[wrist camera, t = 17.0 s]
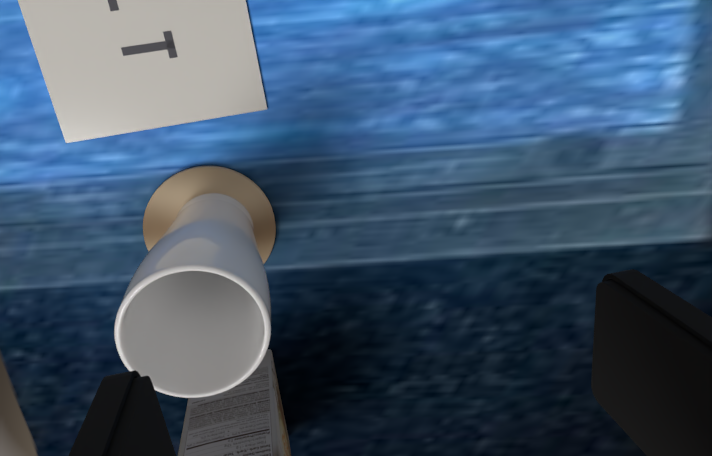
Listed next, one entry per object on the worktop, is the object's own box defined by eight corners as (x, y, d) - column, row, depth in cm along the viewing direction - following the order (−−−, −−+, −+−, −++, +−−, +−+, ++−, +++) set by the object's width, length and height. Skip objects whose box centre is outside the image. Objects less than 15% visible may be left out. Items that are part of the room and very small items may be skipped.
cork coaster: (128, 178, 35) (126, 180, 35) (261, 154, 36) (261, 156, 36) (164, 296, 38) (162, 300, 38) (285, 271, 40) (286, 274, 39)
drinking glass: (142, 223, 36) (75, 334, 22) (217, 160, 35) (197, 231, 21) (212, 289, 38) (192, 427, 24) (283, 231, 38) (304, 336, 24)
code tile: (-10, -86, 29) (-12, -87, 29) (223, -112, 31) (223, -113, 31) (66, 142, 34) (65, 143, 34) (267, 109, 36) (267, 109, 35)
